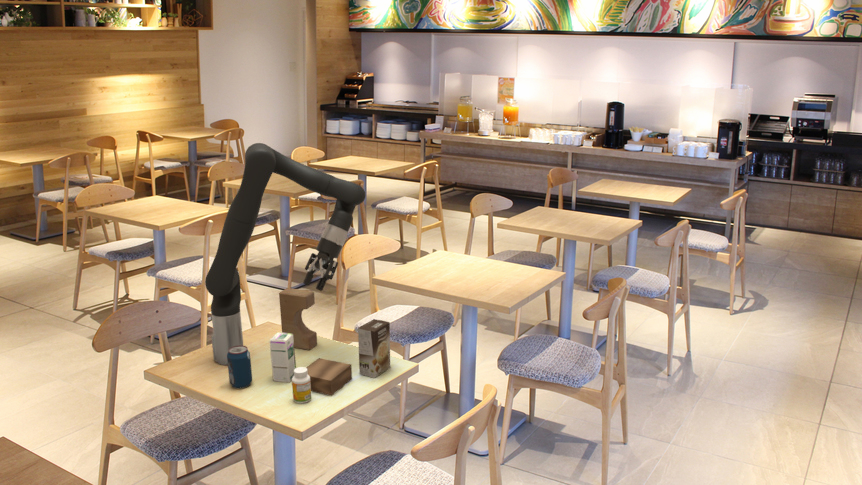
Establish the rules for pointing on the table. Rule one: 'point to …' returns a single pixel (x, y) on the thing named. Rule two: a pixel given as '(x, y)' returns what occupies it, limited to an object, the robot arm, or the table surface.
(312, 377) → the walnut block
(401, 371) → the table surface
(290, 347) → the syrup box
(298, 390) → the supplement bottle
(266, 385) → the table surface
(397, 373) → the table surface
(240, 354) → the soda can
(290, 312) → the decorative block
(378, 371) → the coffee box
